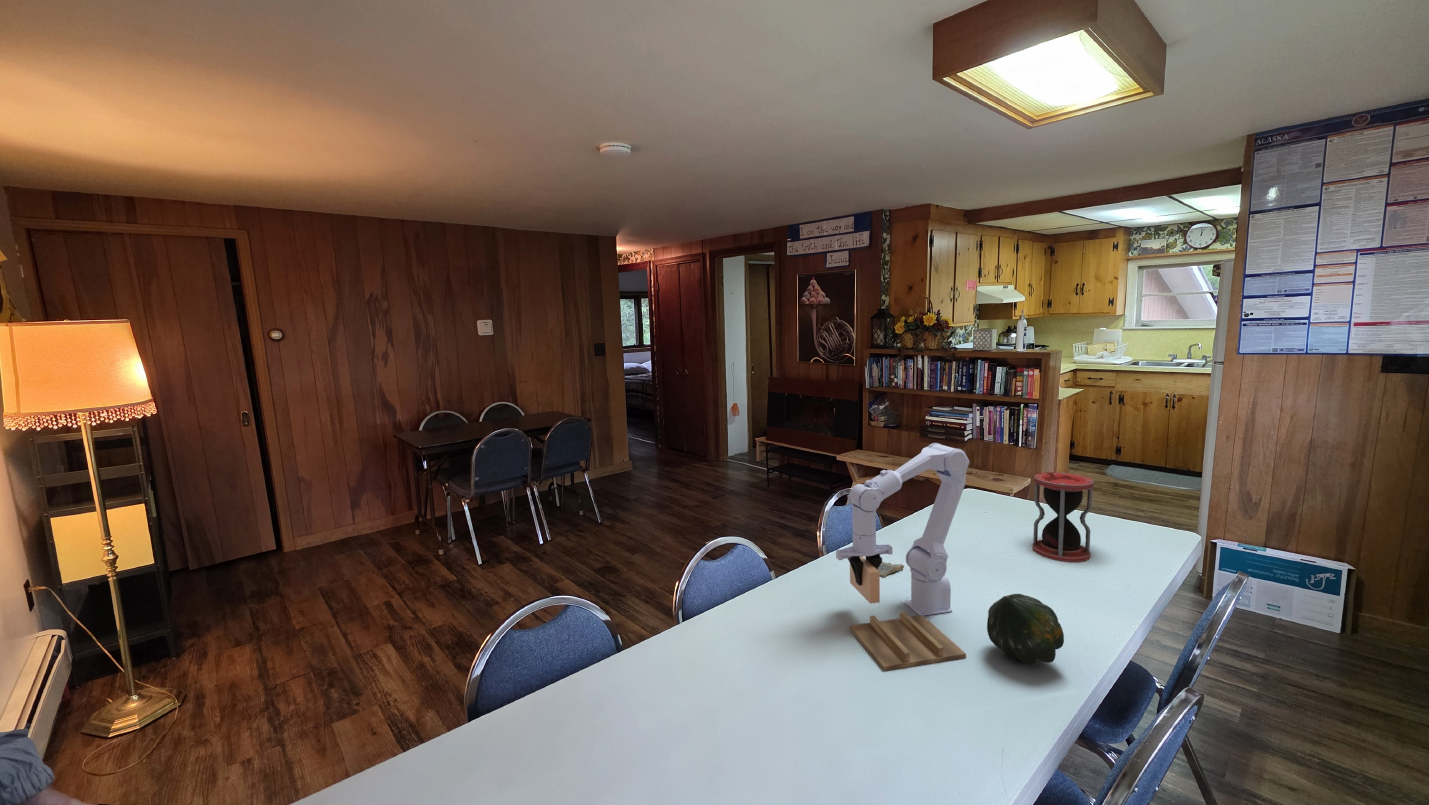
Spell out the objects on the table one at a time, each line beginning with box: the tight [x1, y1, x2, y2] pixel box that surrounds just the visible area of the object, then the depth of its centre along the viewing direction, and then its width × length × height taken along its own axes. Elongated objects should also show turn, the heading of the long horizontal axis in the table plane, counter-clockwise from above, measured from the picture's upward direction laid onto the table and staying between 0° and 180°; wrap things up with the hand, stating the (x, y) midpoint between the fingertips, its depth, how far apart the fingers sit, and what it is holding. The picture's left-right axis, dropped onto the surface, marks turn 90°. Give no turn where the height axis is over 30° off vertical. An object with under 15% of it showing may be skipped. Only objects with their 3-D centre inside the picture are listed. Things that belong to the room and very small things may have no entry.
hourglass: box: [1031, 471, 1095, 564], centre depth 180 cm, size 16×16×25 cm
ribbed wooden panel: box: [848, 611, 967, 672], centre depth 133 cm, size 20×18×3 cm
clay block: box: [849, 556, 881, 604], centre depth 144 cm, size 2×12×8 cm, turn 10°
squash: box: [986, 593, 1065, 665], centre depth 125 cm, size 14×15×15 cm
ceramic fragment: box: [878, 561, 905, 578], centre depth 174 cm, size 11×3×10 cm
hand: (864, 583), depth 144 cm, fingers closed on clay block, 2 cm apart
